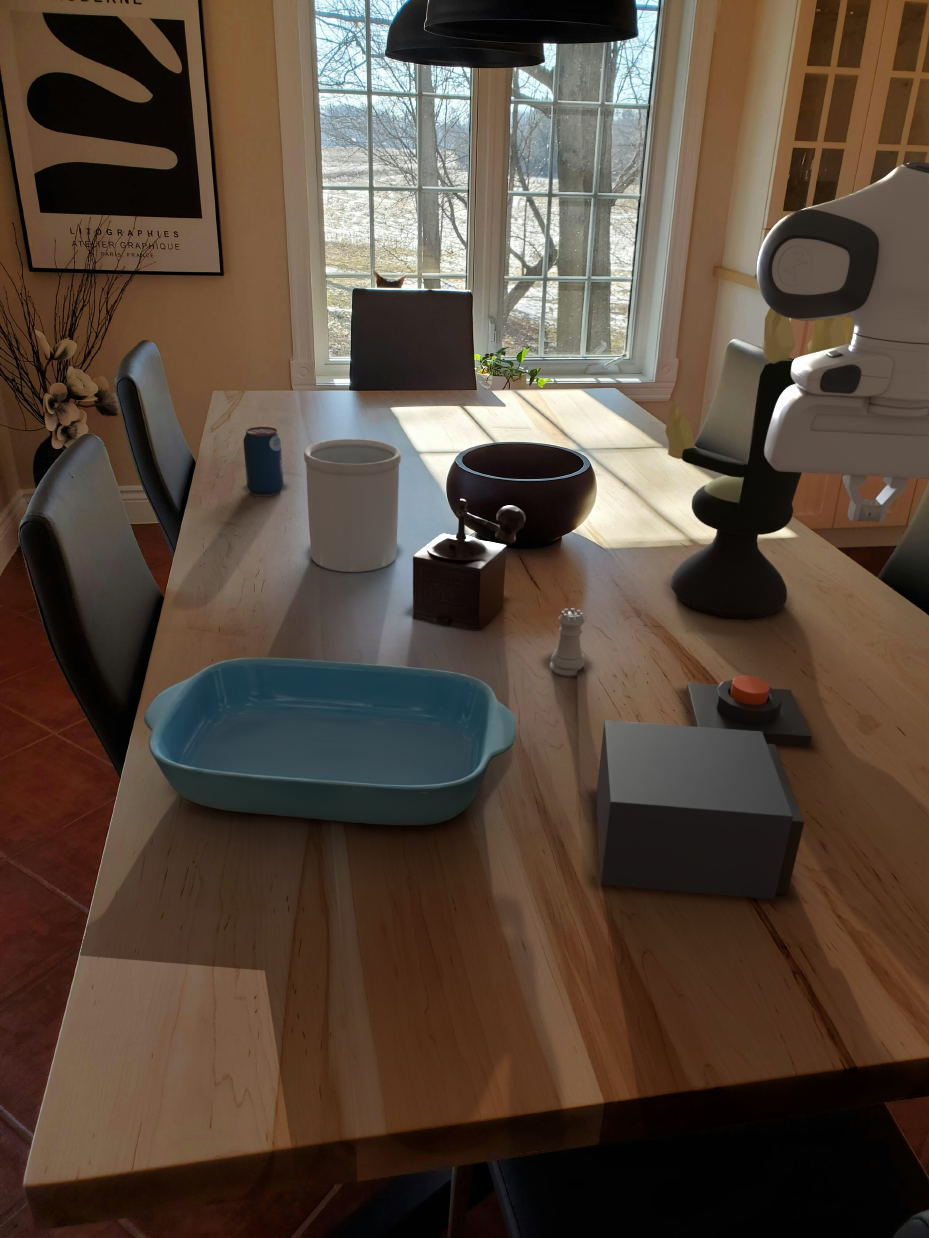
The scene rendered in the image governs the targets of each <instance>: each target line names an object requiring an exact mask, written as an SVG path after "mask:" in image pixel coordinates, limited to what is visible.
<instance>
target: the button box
mask: <svg viewBox="0 0 929 1238" xmlns="http://www.w3.org/2000/svg"><path fill="white" fill-rule="evenodd" d="M732 682H733V679H728V680H724V681H722V682H720V684H715V683H701V682H697V683H696V682H686V689H685V695H686V699H687V704H688V708H689V712H690V715H691V720H692V724H693V727H705V728H719V729H733V730H746V731H760V732H763V735H764V738H765V741H766V743H767V744H775V745H776V746H787V747H799V748H810V746H811V742H812V737H813V736H812V734H811V731H810V729H809V727H808V724H807V723H806V721H805V718H804V716H803V713H802V712H801V709H800V707H799V705H798V702H797V701H796V698H795V696H794V694H793V692H792V690H791V689H786V688H773V687H771V686H770V689H769V694H768V699H767V702H766V704H762V705H747V704H744V703H741V702H738V701H736V700H735V699H733V698H732V697H731V696H730V693H731V687H732Z"/></svg>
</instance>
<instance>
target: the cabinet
mask: <svg viewBox="0 0 929 1238" xmlns="http://www.w3.org/2000/svg"><path fill="white" fill-rule="evenodd" d="M601 738H602V739H601V748H600V749H601V750H600V758H599V768H598V775H597V776H598V777H597V786H596V793H595V795H596V796H595V797H596V814H597V815H596V816H597V817H596V818H597V819H596V820H597V837H598V853H599V855H598V856H599V873H600V874H599V875H600V885H602V886H613V887H614V886H615V887H626V888H636V889H646V890H647V889H649V890H660V891H669V892H670V891H672V892H682V893H692V894H693V893H694V894H703V895H714V896H715V895H716V896H728V897H738V898H739V897H740V898H749V899H761V900H772V901H773V900H775V898H776V895H777V894H776V889H777V885H778V881H779V876H780V872H781V868H782V863H783V859H784V854H785V850H786V846H787V841H788V837H789V833H790V828H791V824H792V819H793V815H792V812H791V810H790V807H789V804H788V801H787V799H786V796H785V793H784V790H783V788H782V785H781V782H780V779H779V776H778V774H777V771H776V768H775V765H774V763H773V760H772V757H771V754H770V752H769V749H768V746H767V743H766V741H765V738H764V735H763V732H760V731H746V730H733V729H719V728H705V727H694V726H690V725H677V724H663V723H650V722H636V721H625V720H624V721H623V720H609V719H604V721H603V729H602V737H601Z"/></svg>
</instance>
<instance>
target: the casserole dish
mask: <svg viewBox="0 0 929 1238" xmlns="http://www.w3.org/2000/svg"><path fill="white" fill-rule="evenodd" d="M143 721H144V724H145V726H146V727H147V728H148V729H149V730H150V731H151V733H150V735H149V739H148V748H149V752H150V754H151V756H152V757H153V759H154V761H155V763H156V764H157V766H158V768H159V770H160V771H161V773H162V774H163V776H164V778H165V779H166V780H167V782H168V783H169V785H170V786H171V788H172V789H173V790H174V791H175V792H177V793H178V794H179V795H180V796H181V797H182V798H184V799H186V800H188V801H190V802H192V803H195V804H197V805H200V806H203V807H207V808H212V809H217V810H222V811H228V812H237V813H245V814H257V815H258V814H259V815H268V816H279V817H280V816H281V817H291V818H303V819H311V820H312V819H314V820H325V821H333V822H335V821H336V822H345V823H356V824H357V823H358V824H368V825H385V826H431V825H436V824H439V823H443V822H446V821H450V820H451V819H453V818H455V817H457V816H458V815H460V814H461V813H463V812H464V811H465V810H466V809H468V807H469V806H470V805H471V803H472V802H473V800H474V799H475V797H476V796H477V794H478V791H479V790H480V786H481V783H482V782H483V779H484V776H485V773H486V771H487V768H489V764H490V762H491V760H493V759H494V758H496V757H499V756H500V755H502V754H504V753H506V752H508V751H509V750H510V749H511V748H512V747H513V745H514V743H515V740H516V733H517V720H516V717H515V715H514V713H513V711H511V709H509V708H508V707H507V706H506V705H504V704H502V703H501V702H500V701H498V700H497V697H496V694H495V692H494V690H493V689H492V688H491V686H489V685H488V684H487V683H486V682H484V681H482V680H481V679H479V678H476V677H473V676H470V675H467V674H463V673H459V672H455V671H447V670H439V669H432V668H421V667H409V666H400V665H387V664H386V665H384V664H373V663H372V664H371V663H360V662H359V663H357V662H346V661H345V662H342V661H329V660H315V659H301V658H300V659H299V658H286V657H285V658H283V657H281V658H280V657H243V658H242V657H240V658H233V659H228V660H227V659H226V660H223V661H219V662H217V663H213V664H210V665H209V666H207V667H205V668H202V669H201V670H200V671H198V672H197V673H195V674H194V675H192V676H191V677H189V678H186V679H185V680H182V681H180V682H178V683H176V684H173V685H171V686H169V687H167V688H166V689H165V690H163V691H161V692H160V693H159V694H158V695H157V696H156V697H155V698H154V699H153V700H152V701H151V703H150V704H149V705H148V706H147V709H146V710H145V713H144V716H143Z"/></svg>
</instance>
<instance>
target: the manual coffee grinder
mask: <svg viewBox="0 0 929 1238" xmlns="http://www.w3.org/2000/svg"><path fill="white" fill-rule="evenodd" d="M457 506H458V508H457V510H456V511H455V512H456V515H457V516H458V526H457V533H456V534H454V535H453V534H448V533H447V534H446V533H441V534H440V535H437V537H435V538H434V539H433V540H432V541H430V542H429V543H427V544H426V545H425V546H424V547H422V548H421V549H420V550H418V552H416V553H415V554H414V555H413V556H412V619H413V620H417V621H422V622H425V623H431V624H434V625H438V626H443V627H448V628H449V627H450V628H457V629H462V630H463V629H464V630H473V631H481V630H482V629H484V628H485V627H486V626H488V625H489V624H490V622H491V621H492V620H494V618H495V617H496V616H497V615H498V614H499V613H500V611H501V609H502V606H503V605H504V603H505V578H506V577H505V576H506V560H507V559H506V558H507V545H511V544H515V543H516V540H517V537H516V534H517V532H518V531H519V530H521V529H522V528H524V527H525V523H526V519H527V518H526V514H525V512H524V511H523V510H522V509H520V508H519V507H517V506H515V505H505V506H503V507H500V509H499V510H498V511H497V513H496V521H497V523H498V524H496V523H493V522H492V521H488V520H486V519H483V518H481V517H479V516H475V515H473V514H471V513H469V512H468V509H467V507H468V502H467V500H466V499H464V498H460V499H459V500H458V501H457ZM466 520H468V521H469V522H471V523H473V524H476V525H478V526H482V527H484V528H487V529H489V530H492V531H494V532H495V535H494V536H495V540H498V542H500V543H497V542H492V541H486V540H480V539H478V538H476V537H473V536H471V535H468V534H466V531H465V530H466V529H465V527H466ZM506 544H507V545H506Z"/></svg>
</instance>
